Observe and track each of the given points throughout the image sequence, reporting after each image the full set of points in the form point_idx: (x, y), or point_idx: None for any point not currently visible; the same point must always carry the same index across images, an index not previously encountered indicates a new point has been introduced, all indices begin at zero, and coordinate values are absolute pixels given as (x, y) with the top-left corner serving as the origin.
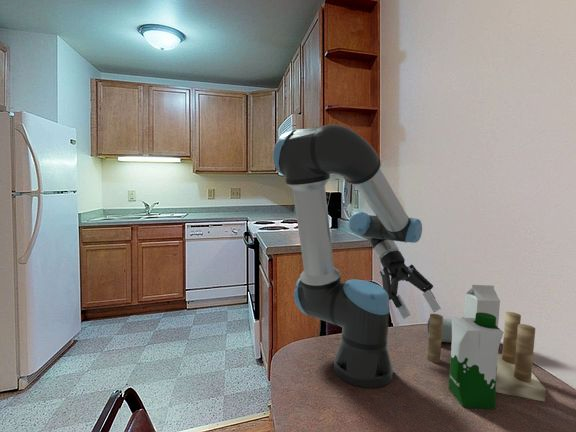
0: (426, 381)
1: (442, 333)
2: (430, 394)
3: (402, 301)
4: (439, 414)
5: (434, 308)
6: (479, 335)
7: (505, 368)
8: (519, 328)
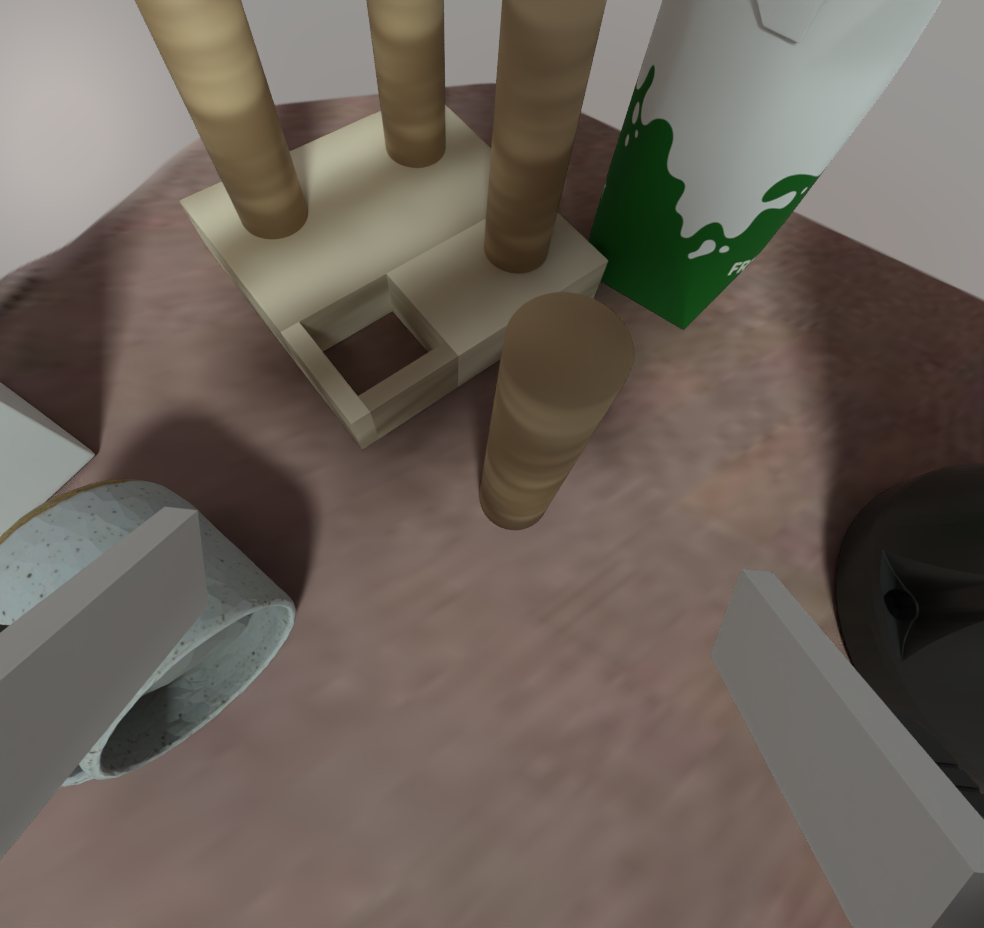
0: (728, 404)
1: (246, 558)
2: (785, 349)
3: (879, 723)
4: (842, 281)
5: (184, 589)
6: None
7: (386, 200)
8: None
